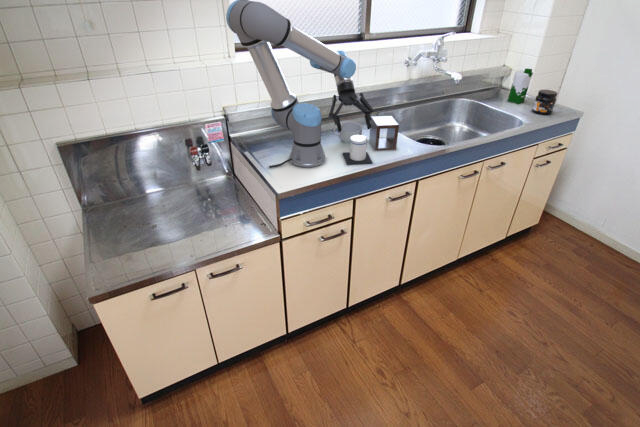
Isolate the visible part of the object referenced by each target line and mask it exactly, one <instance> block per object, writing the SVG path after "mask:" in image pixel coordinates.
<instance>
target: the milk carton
mask: <svg viewBox="0 0 640 427" xmlns="http://www.w3.org/2000/svg"><path fill="white" fill-rule="evenodd" d="M533 75H534V71H533V68H524V70H522V69H521V70H518V71H514V74H513V80H512V83H511V87H510V91H509V94H508V98H507V102H508V103H512V104H516V105H520V104H523V103H524V102H525V99H526V96H527V93H528V90H529V87H530V85H531V84H530V83H531V80H532V78H533Z"/></svg>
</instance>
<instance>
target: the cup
mask: <svg viewBox="0 0 640 427" xmlns="http://www.w3.org/2000/svg"><path fill="white" fill-rule="evenodd" d="M367 148H368V137H367V136H366V135H364V134H363V135H362V134H361V135H353V136H351V138H350V144H349V152H350V159H352V160H356V161H361V160H364V159H365V158H366V152H367Z"/></svg>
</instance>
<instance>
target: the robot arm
mask: <svg viewBox="0 0 640 427" xmlns="http://www.w3.org/2000/svg"><path fill="white" fill-rule="evenodd" d="M225 20H226V24H227V26H228V28H229V29H230V30H231V32H233V34H236V36H237V38H238V41H239V42H240V44H241V46H242V47H243V48H246V49H247V50H248V53H249V54H250V57H251V58H252V61H253V63H254V65H255V67H256V69H257V71H258V73H259V76H260V77H261V78H260V79H261V80H262V82H263V84H264V86H265V88H266V91H267V93H268V94H269V96H270V99H271V102H270V107H271V109H270V114H271V117H272V119H273V121H274V122H275V123H276V124H277V125H278V126H280V127H282V128H284V129H286V130H288V131H289V132H292V134H293V145H292V148H291V151H290V154H289V158H288V159H287V160H284V161H283V162H280V163H277V164H273V165H269V168H270V169H271V168H277V167H281V166H283V165H285V164H287V163H289V162H290V163H291V164H292V165H294V166H295V167H298V168H307V169H308V168H316V167H320V166H322V165H323V164H324V163H325V161H326V160H325V159H326V156H325V151H324V148H323V146H322V119H323V118H322V112H321V109H320V108H319V107H318V106H316V105H314V104H312V103H310V104H309V103H307V102H306V103H305V102H302V103H300V102H299V100H298V97H297V95H296V93H294V92H292V91H291V90H290V87H289V85H288V83H287V81H286V78H285V75H284V73H283V71H282V68H281V66H280V63H279V61H278V59H277V56H276V54H275V52H274V50H273V46H272V45H274V46H276V47H281V46H283V48H286V49H288V50H290V51H292V52H294V53H296V54H297V55H299V56H301V57H303V58H305V59H307V60H309V64H310V67H312V68H313V69H316V70H320V71H323V72H327V73H330V74H332V75H333V78H334V80H335V81H334V82H335V86H336V90H337V95H336V94H334V95H333V96H332V98H331V99H332V103H331V106H330V110H329V113H328V117H329V118H332V120H333V122H334V126H337V128H338V129H337V132H338V133H340V132H341V130H342V128H341V124H342V123H341V120H340V116H339V115H338V114H339V113H340V111H341V110H342V108H343V106H345V107H347V106H352V105H353V106H354V107H356V108H357V109H358V110H359V111H361V113H363V114H364V119H365V124H366V128H367V130H370V128H371V117H372V116H371V115H372V114H373V112H374V108H373V107H372V106H371V105H370V103H369V101H367V99H366V98H365V97H364V94H363V93H362V92H360V93H358V94H357V93H356V89H355V85H354V81H353V80H354V79H353V76H354V75H355V73H356V71H357V64H356V62H355V60H354V59H352V58H350V57H348V55H347V52H345V50H335V49H332V48H331V47H329V46H327V45H326V44H324V43H322V42H321V41H319V40H317V39H316V38H314V37H313V36H311V35H309V34H307V33H305V32H304V31H302V30H301V29H299V28H298V27H296V26H294V25H293V24H292V22H291V21H290V19H289V18H287V17H286V16H284V15H282V14H281V13H279V12H278V11H276V10H275V9H274V8H272V7H270V6H269V5H267V4H266V3H264V2H261V1H253V0H234V1H232V2H231V4H229V6H228V7H227V11H226V14H225ZM271 44H272V45H271ZM337 101H339V102H340V104H339V106H338V107H337V109H336V110H335V107H336V103H337ZM334 110H335V112H334Z"/></svg>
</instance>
